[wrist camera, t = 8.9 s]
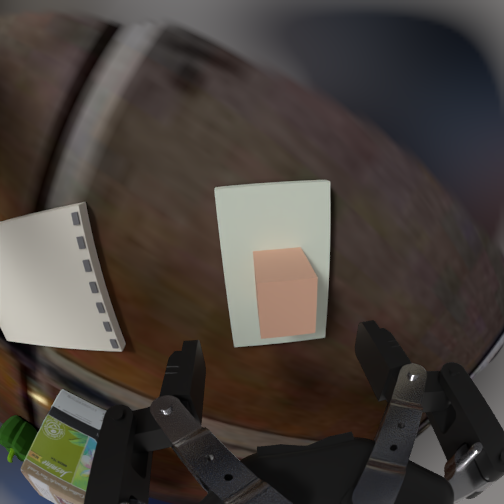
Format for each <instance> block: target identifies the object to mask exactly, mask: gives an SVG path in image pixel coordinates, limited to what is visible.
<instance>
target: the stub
mask: <svg viewBox="0 0 504 504" xmlns="http://www.w3.org/2000/svg"><path fill="white" fill-rule="evenodd" d="M214 190H215V200H216V209H217V218H218V227H219V236H220V244H221V253H222V261H223V269H224V277H225V284H226V292H227V300H228V307H229V314H230V321H231V329H232V336H233V342H234V347H243V346H255V345H267V344H277V343H286V342H295V341H303V340H311V339H318V338H325V332H326V319H327V305H328V288H329V265H330V181H328V180H308V181H288V182H272V183H257V184H245V185H233V186H222V187H215V189H214Z"/></svg>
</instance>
